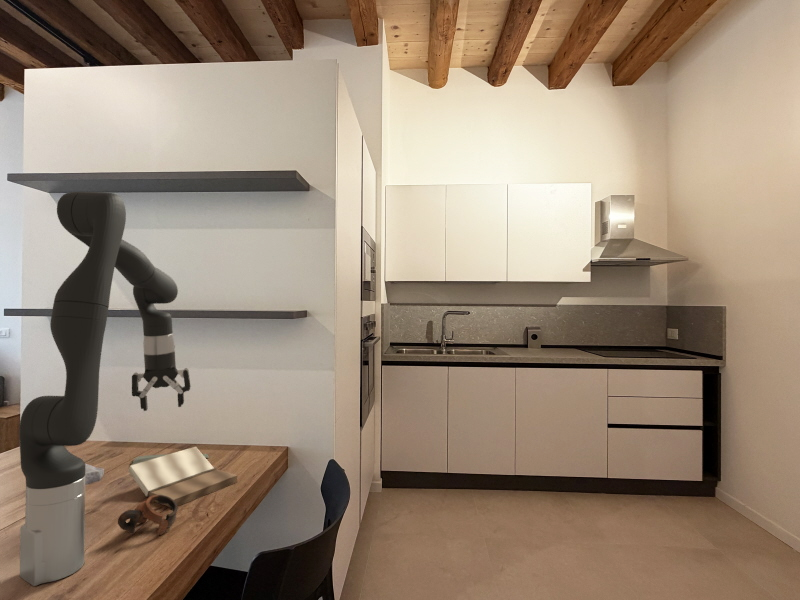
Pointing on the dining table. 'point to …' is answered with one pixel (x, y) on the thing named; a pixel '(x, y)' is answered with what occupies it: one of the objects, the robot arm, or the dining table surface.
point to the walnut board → (195, 486)
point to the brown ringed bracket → (149, 515)
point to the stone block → (93, 474)
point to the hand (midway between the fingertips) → (163, 408)
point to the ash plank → (169, 469)
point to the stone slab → (149, 457)
